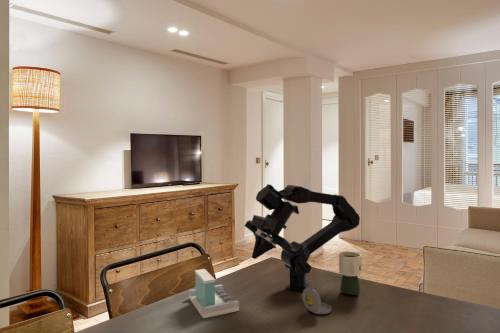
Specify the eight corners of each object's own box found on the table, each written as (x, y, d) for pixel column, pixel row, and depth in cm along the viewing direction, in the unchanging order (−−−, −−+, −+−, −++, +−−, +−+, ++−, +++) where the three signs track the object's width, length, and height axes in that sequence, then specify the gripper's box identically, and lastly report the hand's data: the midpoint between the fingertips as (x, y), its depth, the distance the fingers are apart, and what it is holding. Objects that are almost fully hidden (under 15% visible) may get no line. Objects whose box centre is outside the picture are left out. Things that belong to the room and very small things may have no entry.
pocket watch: (332, 307, 109) (332, 274, 109) (329, 319, 101) (329, 284, 101) (305, 303, 112) (305, 271, 111) (300, 315, 104) (300, 281, 103)
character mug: (365, 300, 114) (366, 259, 113) (343, 300, 114) (343, 259, 113) (356, 286, 125) (356, 249, 124) (335, 286, 125) (335, 249, 124)
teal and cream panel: (205, 294, 116) (204, 268, 116) (215, 307, 107) (215, 279, 106) (195, 296, 115) (194, 270, 114) (205, 309, 105) (204, 280, 105)
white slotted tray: (221, 292, 121) (221, 284, 121) (238, 310, 107) (238, 301, 107) (189, 298, 116) (189, 290, 116) (203, 318, 103) (203, 308, 103)
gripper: (248, 197, 123) (222, 237, 119) (285, 215, 108) (256, 259, 105) (266, 213, 129) (242, 250, 126) (303, 231, 115) (277, 274, 112)
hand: (253, 258), depth 117 cm, fingers closed
